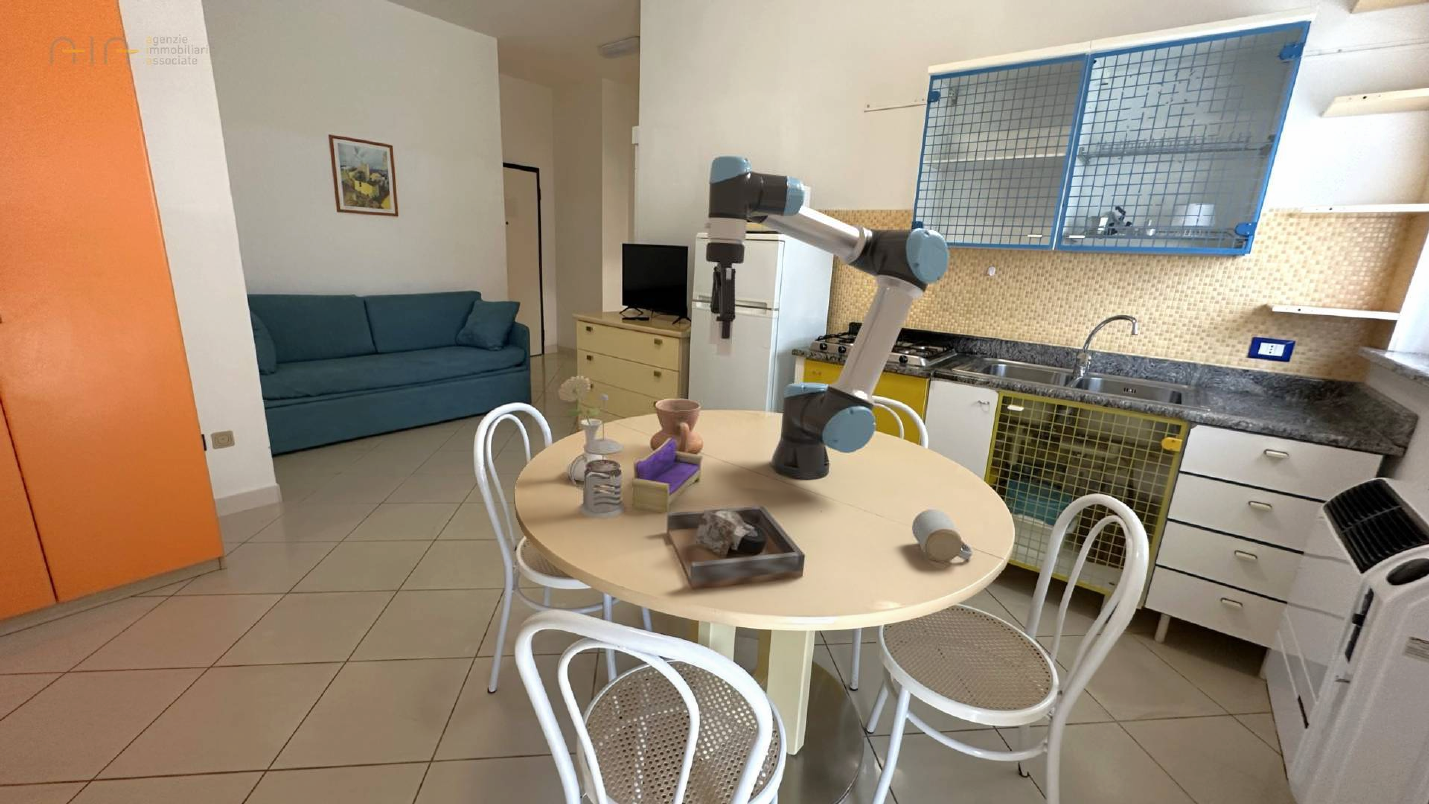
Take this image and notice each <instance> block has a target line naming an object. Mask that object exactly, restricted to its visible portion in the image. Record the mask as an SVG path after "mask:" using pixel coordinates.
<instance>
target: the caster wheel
mask: <svg viewBox="0 0 1429 804" xmlns="http://www.w3.org/2000/svg"><path fill="white" fill-rule="evenodd" d="M704 510H705V511H704V513H703V516H702V519H701V522H700V525H699V528H698V531H697V533H696V536H695V539H694V542H696V543H698V544H700V545H701V546H703V547H705V548H707V549H709V550H710V551H712V552H714V553H716V554H718V555H719V556H721V557H723V558H725V557H726V554H727V552H728V549H729V548H731V549H734V550H741V551H744V552H748V553H759V552H762V551H763V549H764V547H765V544H766V541H767V538H768V537H767V534H766V533H765V532H764V530H762V529H761V528H760V527H758V526H757V525H755V524H753V523H750V522H748V521H745V520H742V518H741V517H740V515H739V514H738V513H736V512H735V511H732V510H722V511H718V512H715V513H712V512H710V511H708V510H709V509H704Z"/></svg>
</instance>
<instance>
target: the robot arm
mask: <svg viewBox="0 0 1429 804" xmlns="http://www.w3.org/2000/svg"><path fill="white" fill-rule="evenodd" d="M710 168H711V169H710V174H709V182H708V184H709V194H708V195H709V196H708V198H709V199H708V215H707V216H708V220H707V221H708V222H705V224H704V228H705V229H708V230H707V239H708V240H709V242H707V243H706V246H705V247H706V252H705V260H706V262H709V263H717V265H716V266H714V267H713V273H712V289H711V296H710V297H711V299H710V305H709V308H710V312H711V313H710V325H709V340H708V341H709V345H716V356H729V357H730V356H731V355H732V340H733V328H734V327H733V325H734V320H735V319H736V273H737V271H736V268H733V264H738V265H739V264H741V265H742V264H743V263H744V261H745V246H744V244H743V242H745V241H746V236H747V224H748V221H749V222H753V223H755V224H758V225H761V226H763V227H766V228H768V229H771V230H773V231H775V232H777V233H780V234H782V235H785V236H787V237H789V238H792V239H795V240H797V241H800V242H802V243H804V244H808V245H810V246H812V247H814V248H818V249H819V250H822V251H825V252H827V253H828V254H829V253H830V254H832V255H834V256H836V257H838V259H839V260H838V261H840V262H841V263H843V264H845V265H848V266H849V267H853V268H854V269H856V270H859V271H861V272H864V273H865V274H868V275H869V276H873V277H875V281H876V284H877V290H876V291H875V294H874V296H873V298H872V300H871V303H870V306H869V308H868V310H867V312H866V315H865V317H864V319H863V322H862V324H861V325H860V328H859V331H858V333H857V335H856V338H855V339H854V342H853V345H852V347H851V349H850V352H849V353H848V356H847V358H846V361H845V362H844V365H843V367H842V370H841V372H840V373H839V376H838V379H837V380H836V381H835V382H832V383H829V384H827V383H823V382H822V383H820V382H819V383H818V382H794V383H790V384H788V385H786V387H785V389H784V395H783V406H782V417H781V418H782V419H781V427H780V428H781V429H780V430H781V431H780V438H779V440H778V443H777V445H776V447H775V450H774V452H773V454H772V458H771V464H770V466H771V468H772V470H774V471H775V472H776V473H779V474H781V475H784V476H786V477H790V478H795V479H804V480H805V479H806V480H808V479H809V480H810V479H812V480H813V479H819V478H823V477H825V476H827V475H829V473H830V464H831V463H830V460H829V455H828V451H827V448H829V449H832V450H833V451H837V452H840V453H844V454H850V453H854V452H856V451H858V450H861V449H862V448H864V447H865V446H866V445H867V444H868V443H869V442H870V440H871V439H872V438H873V435H874V434H875V430H876V426H877V425H876V422H875V421H876V417H875V415H874V413H873V409H874V407H875V405H876V403H875V400H874V398H873V393H874V391H875V388H876V387H877V384H878V382H879V379H880V377H881V376H882V373H883V370H884V369H885V366H886V363H887V362H888V360H889V357H890V355H891V352H892V350H893V348H894V346H895V344H896V342H897V339H898V337H899V334H900V332H901V330H902V328H903V325H904V323H905V321H906V319H907V316H908V314H909V312H910V309H911V308H912V305H913V303H914V301H915V300H916V299H918V298H921V297H923V296H924V295H925V292H926V290H927V288H928V286H929V285H932V284H934V283H937V282H938V281H940V280H941V279H942V278H943V277H944V275H945V274H946V273H947V270H948V267H949V263H950V253H949V252H950V251H949V250H948V243H947V242H946V240H945V238H944V237H943V236H942V234H940V233H939V232H938V231H936V230H933V229H924V228H915V229H875V228H869V227H866V226H863V225H861V224H855V225H850V224H848V223H846V222H844V221H841V220H838V219H836V218H833V217H832V216H829V215H827V214H825V213H823V212H820V211H818V210H815V208H811V207H809V206H807V205H805V204H804V202H805V196H806V195H805V186H804V184H803V182H802V181H801V180H800V179H799V178H797V177H792V176H788V175H780V174H770V173H763V172H762V173H761V172H760V173H759V172H755V171H752V168H751V161H750V159H748V158H745V157H742V156H732V155H722V156H717V157H715V158H714V159H713V160H712V162H711V167H710Z"/></svg>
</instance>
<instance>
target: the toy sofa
mask: <svg viewBox="0 0 1429 804" xmlns="http://www.w3.org/2000/svg"><path fill="white" fill-rule="evenodd" d="M702 460H703V456H702V455H700V454H696V455H695V454H690V453H684V452H678V451H676V442H675V440H674V439H671V438H668V439H667V440H666V441H665V443H664V444H663V445H661V446H660V447H659V448H657V449H656V450H655V451H653V450H652V452H651V453H649V454H648V455H646V456H645V457H644V458H642V459H637V460H635V461H633V473H634V475H633V477H632V478H631V480H630V484H631V486H632V487H631V489H632V493H631V495H632V501H631V505H632V506H633V507H637V508H640V509H645V510H650V511H655V512H660V513H664V514H668V513H669V510H670V504H671V503H673V501H674V500H675V499H676V498H678V497H679V496H680V495H681V494H682V493H683V492H684V491H685V490H686V489H687V488H688V487H689V486H690V485H692V483H694V482H696V483H700V481H701V472H702Z"/></svg>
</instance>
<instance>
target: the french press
mask: <svg viewBox="0 0 1429 804" xmlns="http://www.w3.org/2000/svg"><path fill="white" fill-rule="evenodd" d="M598 398H599V399H598V400H599V401H602V438H596V440H592V441H590V442H588V443H587V444H586V443H585V444H584V445H583V450H584V452H585V451H586V452H587V453H590V454H595V455H601V456H603V457H604V456H608V455H609V456H610V455H614V454H618V453H621V451H622V450H623V449H624V446H623V444H622V443H620V442H619V441H617V440H614V439H610V438H606V437H604V434H605V431H604V430H605V428H604V427H605V425H604V424H605V401H608V400H609V395H608V394H605V393H602V394H600V395H599V397H598ZM580 456H583V458H581V459H580V460H582V459H583V460H584V462H585V463H587V458H586V457H584V455H582V454H580V455H578V456H577V457H576V458H575V459H574V460H573V461H572V462H573V463H572V462H571V463H572V465H571V468H570V476H569V477H570V480H571V482H572V484H573V485H574V486H575V487H576V488H577V489H578V490H581V491H582V503H581V505H580V506H579V508H578V510H579V513H580V514H582V515H583V516H585V517H589V518H592V519H609V518H615V517H619V516H620V515H622V514H623V513H625V511H626V509H627V507H626V505H624V504H625V503H624V502H623V501H622V470H621V464H620V463H619V462H618V461H616V460H613V459H607V458H605V459H604V460H603V459H602V460H600V459H599V460H598V459H597V460H595V461H594V460H592V461H591V462H588V463H587V464H586V465H585V466H586V468H587V469H586V470H585V471H584V481H583V486H581V485H579V484H577V483H576V481H575V479H574V470H575V467H576V465H577V464H578V463H579V462H580V460H579V461H578V462H577V463H576V465H575V466H574V469H573V473H572V472H571V470H572V466H573V464H574V462H575V461H576V460H577V458H579V457H580ZM585 458H586V461H585ZM606 459H607V460H606ZM590 472H595V473H603V474H606V475H610V477H609V478H607V477H604V476H601V475H599V474H592V475H590V476H587V475H588V474H589V473H590ZM572 475H573V478H572ZM592 477H599V478H602V479H594V478H592ZM611 477H612V478H611ZM601 485H603V486H601ZM602 491H604V492H602Z"/></svg>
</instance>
